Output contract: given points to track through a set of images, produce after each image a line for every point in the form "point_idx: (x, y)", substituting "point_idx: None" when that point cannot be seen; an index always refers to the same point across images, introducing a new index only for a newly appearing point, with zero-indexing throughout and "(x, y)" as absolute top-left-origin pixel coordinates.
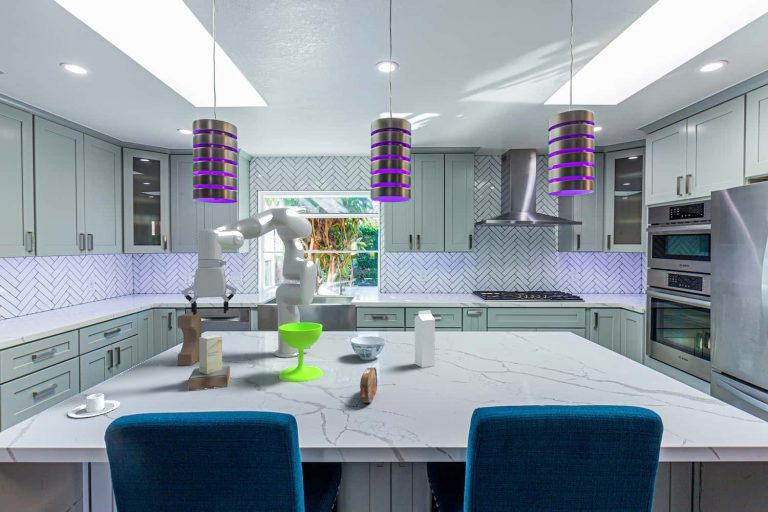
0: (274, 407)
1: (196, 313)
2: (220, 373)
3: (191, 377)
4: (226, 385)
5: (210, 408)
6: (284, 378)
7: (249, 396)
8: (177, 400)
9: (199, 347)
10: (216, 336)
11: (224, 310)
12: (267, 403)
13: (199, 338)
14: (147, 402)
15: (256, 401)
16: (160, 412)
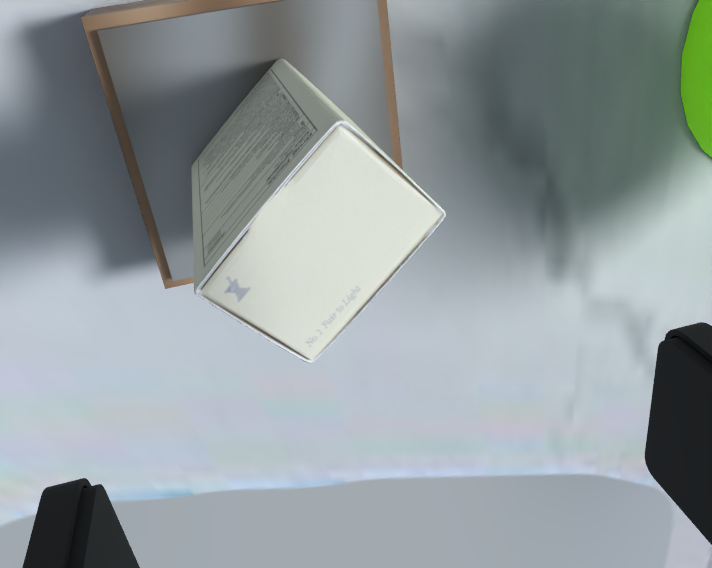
0: (606, 450)
1: (113, 510)
2: None
3: (179, 271)
4: None
5: (368, 461)
6: (707, 138)
7: (515, 349)
8: (174, 383)
9: (194, 244)
10: (386, 241)
11: (691, 507)
12: (585, 418)
13: (195, 290)
14: (16, 404)
15: (544, 400)
16: (163, 497)
